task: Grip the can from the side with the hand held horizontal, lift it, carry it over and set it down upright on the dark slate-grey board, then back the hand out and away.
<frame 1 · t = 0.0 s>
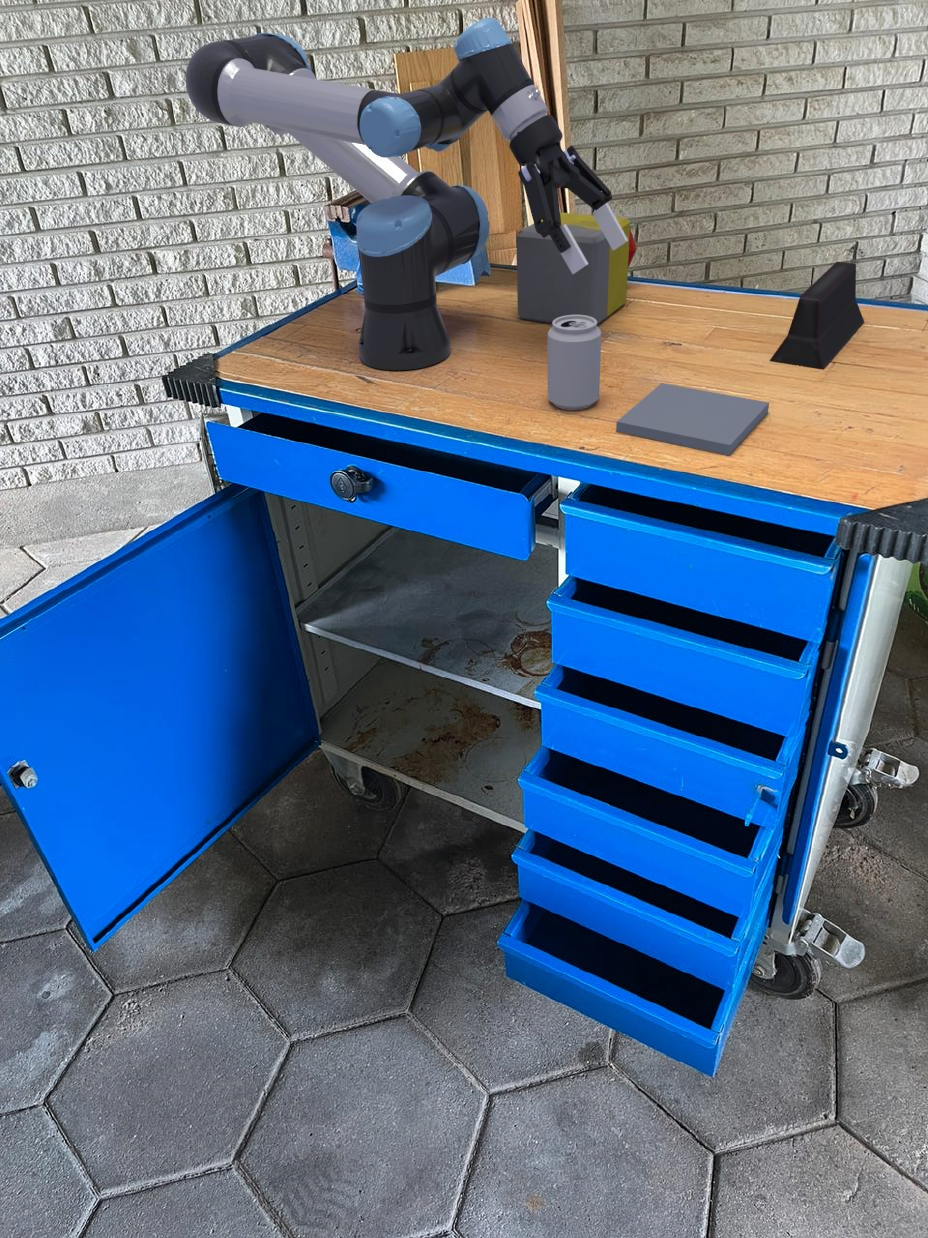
hand: (601, 257, 146), 15 cm above the workbench, tool tilted 35°, fingers open, 13 cm apart
emergency stop button: (583, 305, 176), on the workbench
barrier: (818, 343, 155), on the workbench
can: (573, 402, 141), on the workbench
slate board: (692, 422, 133), on the workbench
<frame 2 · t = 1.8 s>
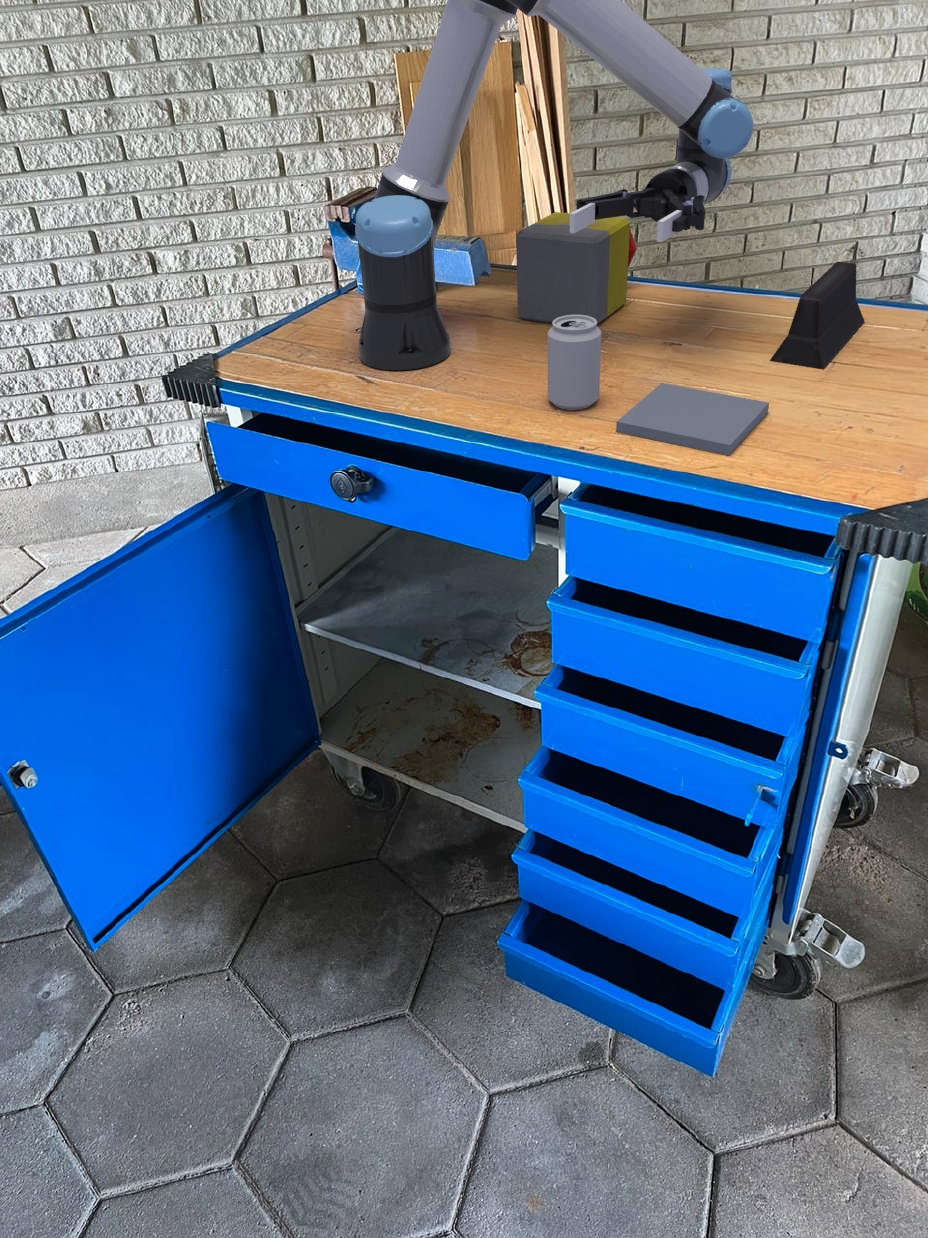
hand: (614, 227, 136), 22 cm above the workbench, tool horizontal, fingers open, 13 cm apart
nothing on the workbench moved.
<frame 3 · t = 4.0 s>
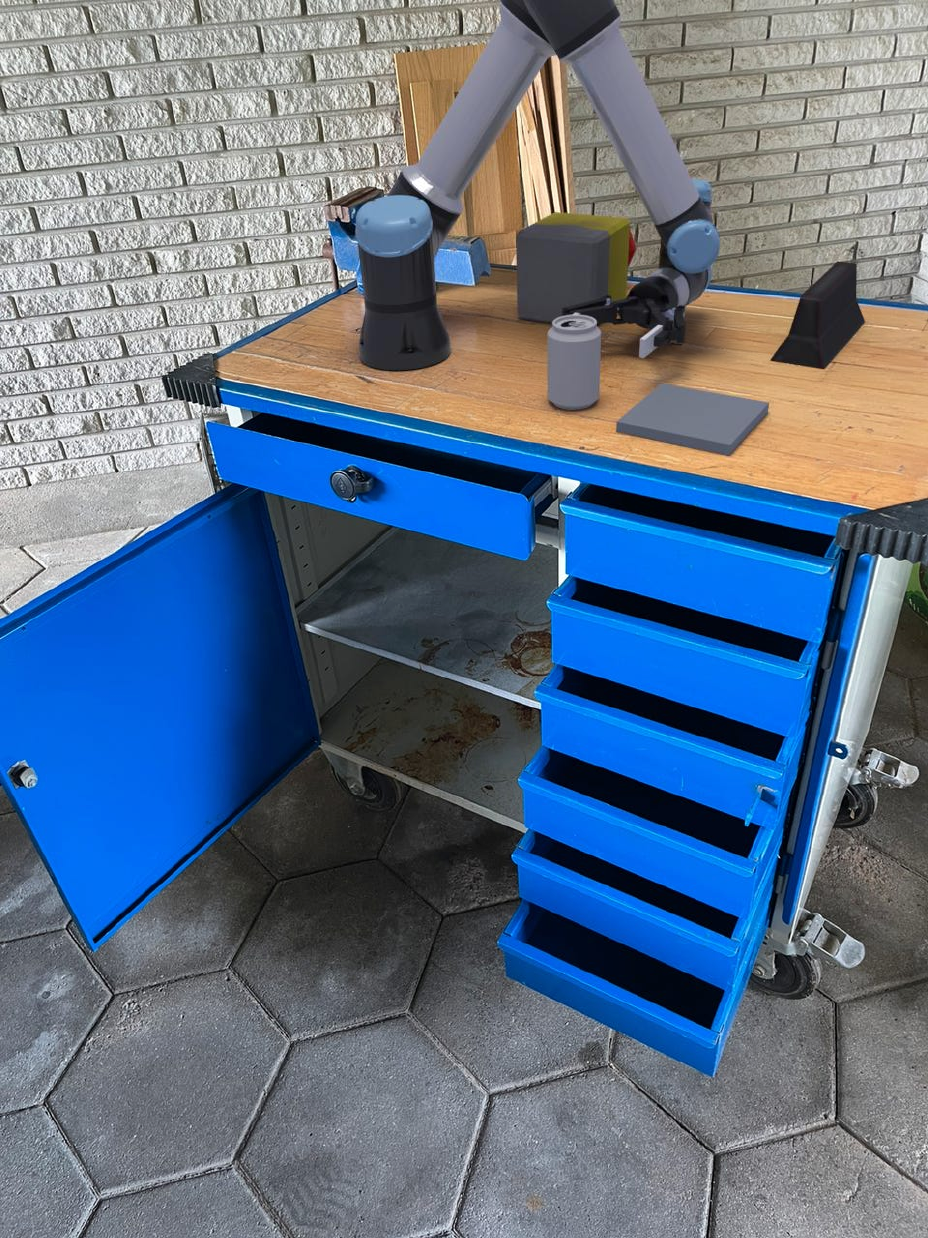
hand: (598, 341, 140), 7 cm above the workbench, tool horizontal, fingers open, 13 cm apart
nothing on the workbench moved.
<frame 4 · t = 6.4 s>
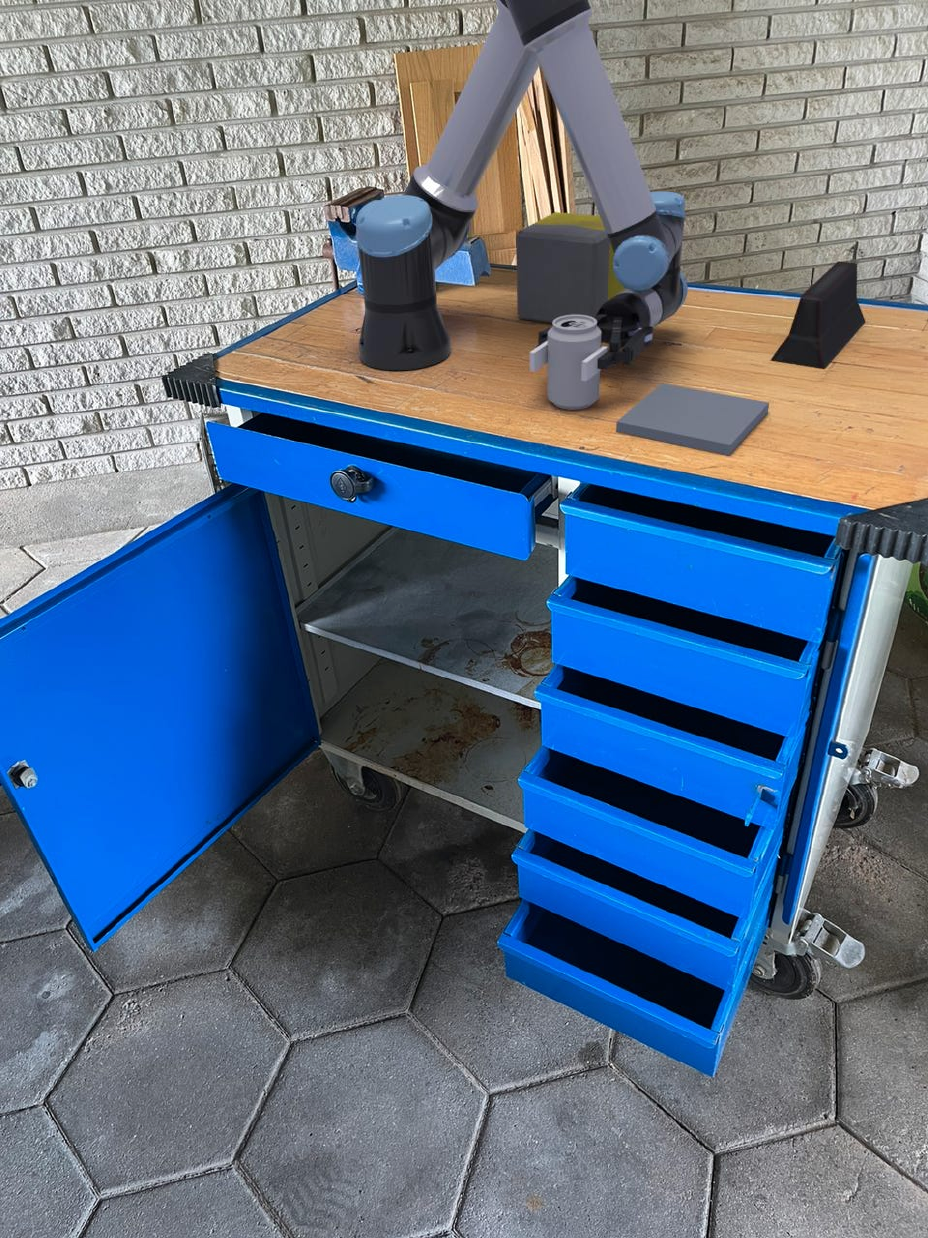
hand: (557, 366, 133), 7 cm above the workbench, tool horizontal, fingers closed on can, 7 cm apart
can: (573, 402, 141), on the workbench, touching gripper
everything else where it was.
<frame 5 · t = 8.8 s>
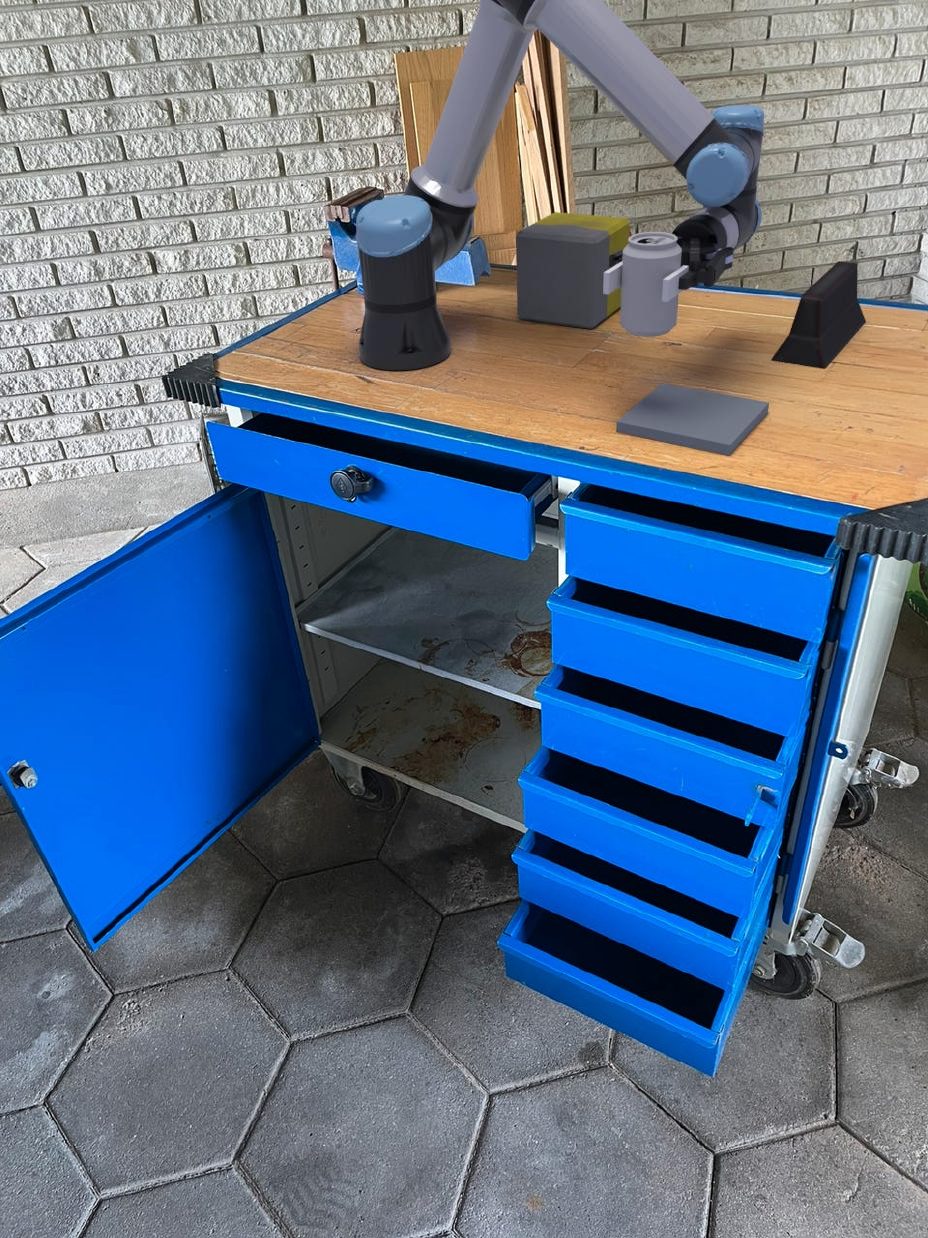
hand: (635, 286, 122), 19 cm above the workbench, tool horizontal, fingers closed on can, 7 cm apart
can: (647, 330, 129), point 12 cm above the workbench, touching gripper
everything else where it was.
when the fingers open (10 cm above the workbench, at t = 11.6 s): can drops 1 cm, resting on slate board.
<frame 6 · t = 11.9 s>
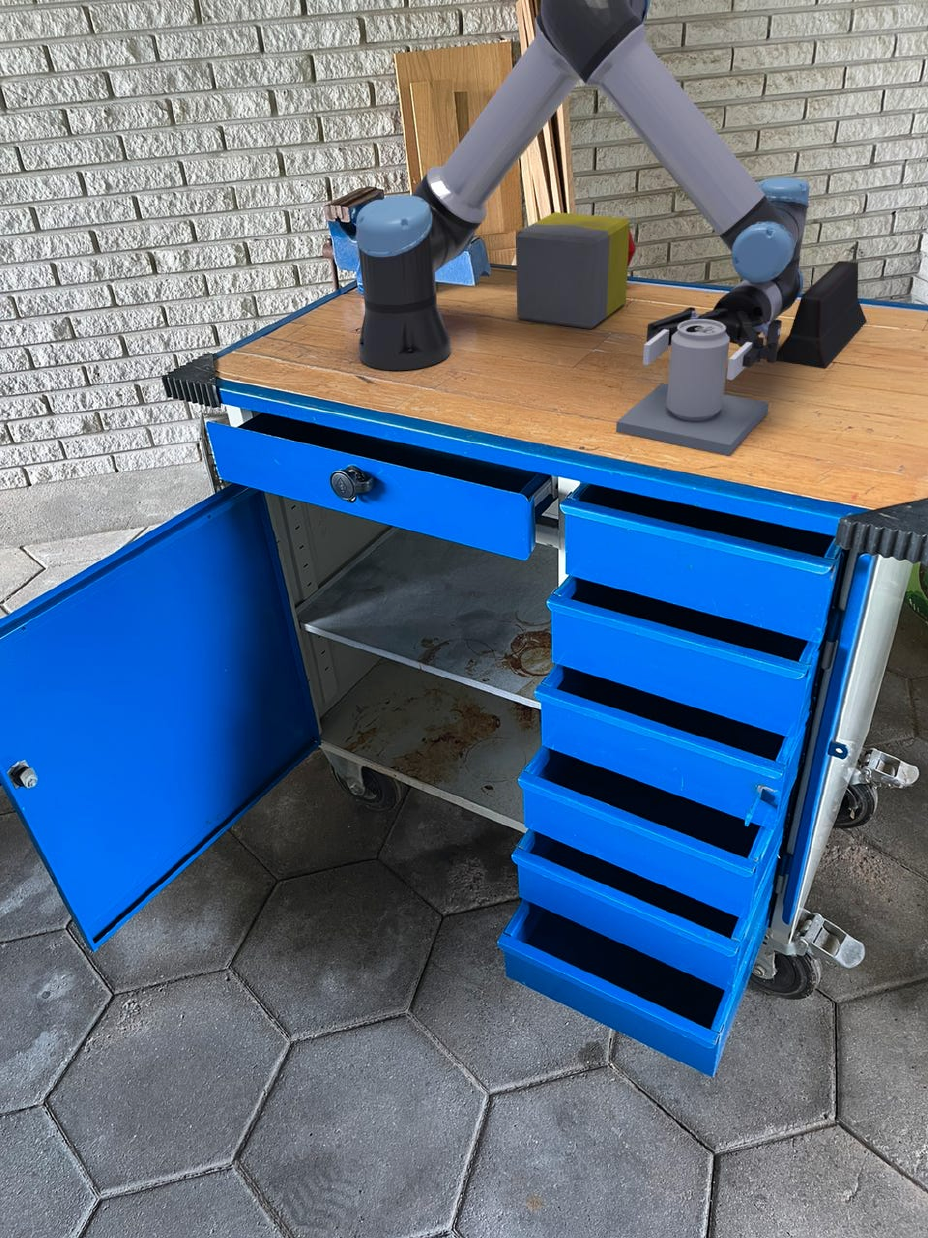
hand: (687, 361, 124), 10 cm above the workbench, tool horizontal, fingers open, 11 cm apart
can: (693, 412, 132), point 1 cm above the workbench, touching slate board
everything else where it was.
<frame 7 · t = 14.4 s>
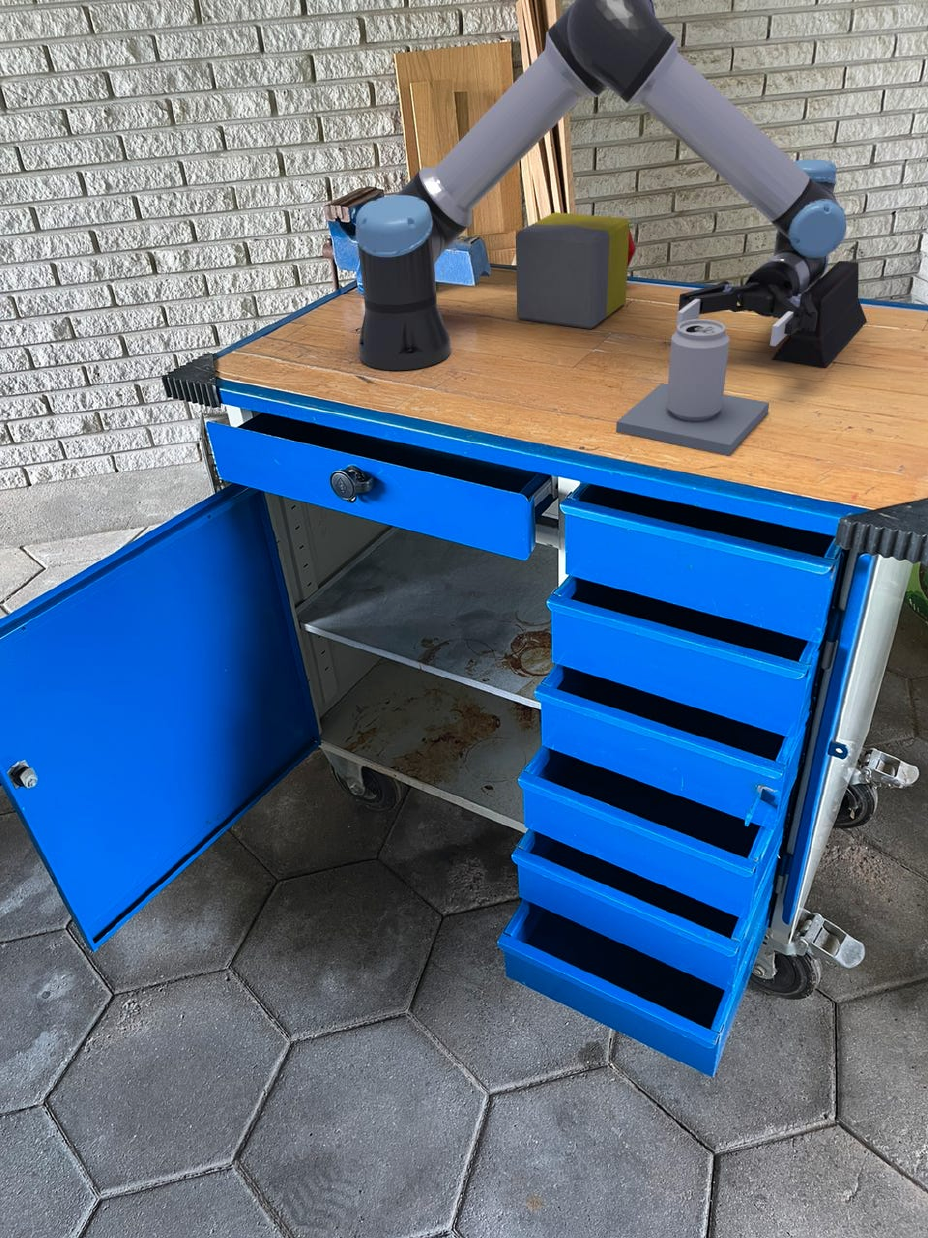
hand: (725, 328, 133), 10 cm above the workbench, tool horizontal, fingers open, 13 cm apart
nothing on the workbench moved.
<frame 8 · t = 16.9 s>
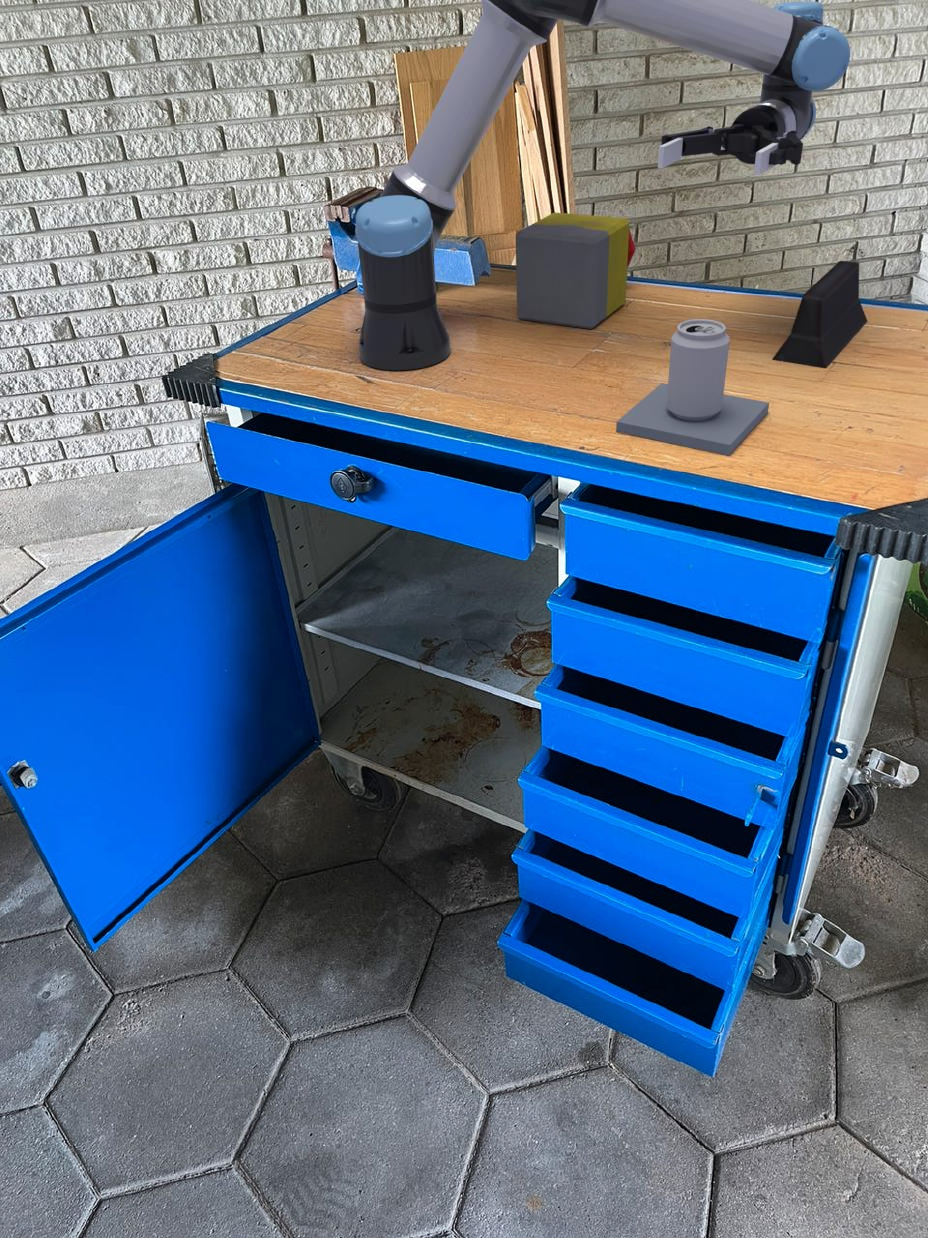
hand: (708, 160, 129), 30 cm above the workbench, tool horizontal, fingers open, 13 cm apart
nothing on the workbench moved.
at the end: can inside the target area on the slate board (0.1 cm from its centre), point 1.3 cm above the slate board's base; can tilted 0°; the gripper is holding nothing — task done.
